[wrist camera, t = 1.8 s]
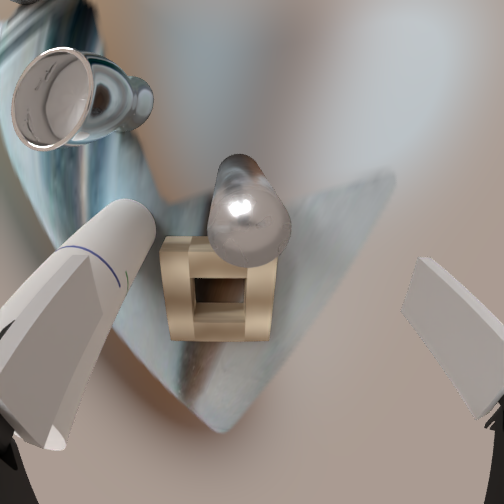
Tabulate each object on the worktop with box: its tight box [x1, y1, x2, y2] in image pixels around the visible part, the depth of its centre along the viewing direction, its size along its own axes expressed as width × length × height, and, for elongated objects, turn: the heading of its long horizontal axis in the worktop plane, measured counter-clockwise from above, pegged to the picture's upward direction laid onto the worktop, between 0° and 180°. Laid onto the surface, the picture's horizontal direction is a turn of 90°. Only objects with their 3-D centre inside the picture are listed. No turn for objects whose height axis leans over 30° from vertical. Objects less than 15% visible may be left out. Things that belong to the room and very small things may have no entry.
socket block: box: [159, 236, 278, 342], centre depth 33 cm, size 12×12×4 cm
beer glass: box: [11, 47, 154, 151], centre depth 18 cm, size 7×7×15 cm
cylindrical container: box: [0, 199, 156, 451], centre depth 20 cm, size 7×7×25 cm
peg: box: [207, 154, 291, 268], centre depth 22 cm, size 4×4×16 cm
